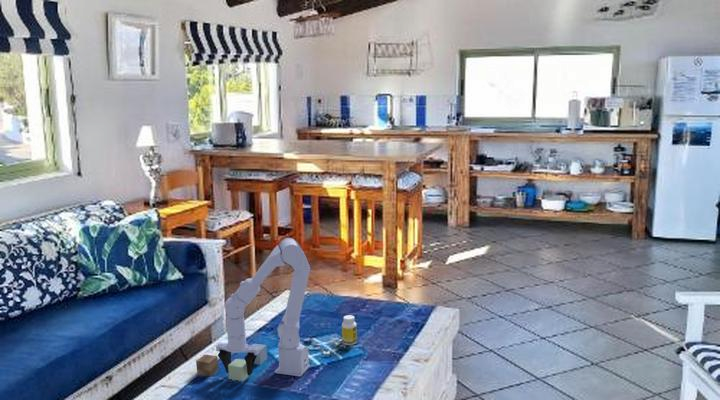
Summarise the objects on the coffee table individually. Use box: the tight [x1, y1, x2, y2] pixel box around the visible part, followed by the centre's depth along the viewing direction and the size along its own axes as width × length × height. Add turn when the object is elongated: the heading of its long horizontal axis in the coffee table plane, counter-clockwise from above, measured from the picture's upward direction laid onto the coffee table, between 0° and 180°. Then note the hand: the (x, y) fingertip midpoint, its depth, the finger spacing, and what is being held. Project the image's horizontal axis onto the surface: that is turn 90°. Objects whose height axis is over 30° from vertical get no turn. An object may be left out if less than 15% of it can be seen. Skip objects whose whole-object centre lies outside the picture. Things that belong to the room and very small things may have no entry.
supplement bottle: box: [341, 314, 358, 346], centre depth 224 cm, size 5×5×10 cm
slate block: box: [246, 343, 268, 366], centre depth 213 cm, size 5×5×5 cm
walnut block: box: [195, 354, 219, 378], centre depth 205 cm, size 5×5×5 cm
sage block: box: [228, 358, 250, 382], centre depth 202 cm, size 5×5×5 cm
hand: (239, 372), depth 202 cm, fingers open, 7 cm apart
